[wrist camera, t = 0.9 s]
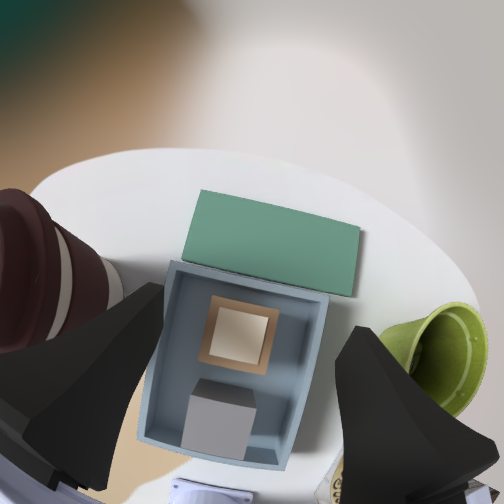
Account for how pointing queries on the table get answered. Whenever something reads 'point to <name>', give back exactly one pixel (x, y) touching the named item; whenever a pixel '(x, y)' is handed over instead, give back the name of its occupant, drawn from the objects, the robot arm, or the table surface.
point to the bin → (191, 370)
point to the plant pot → (443, 353)
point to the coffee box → (333, 480)
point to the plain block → (219, 419)
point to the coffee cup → (46, 276)
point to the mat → (272, 243)
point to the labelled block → (238, 335)
